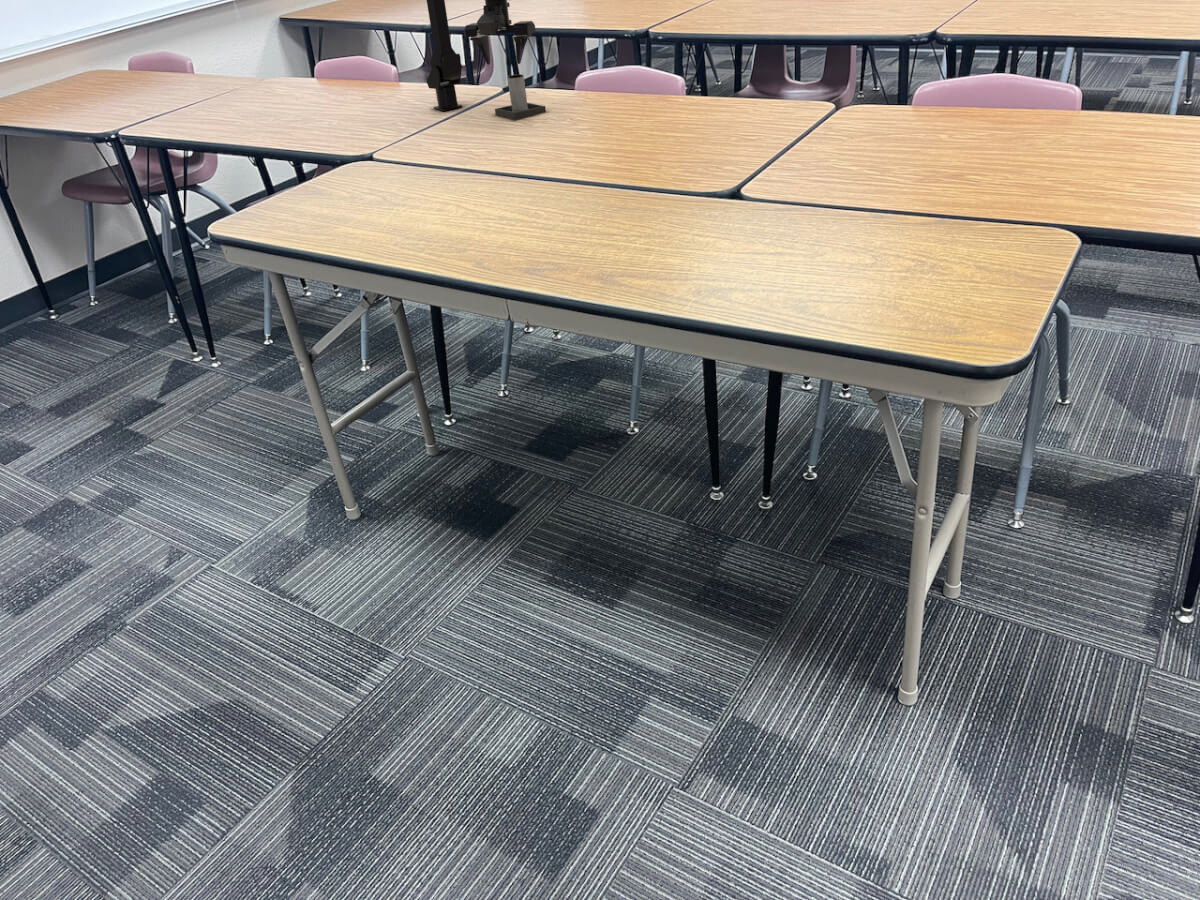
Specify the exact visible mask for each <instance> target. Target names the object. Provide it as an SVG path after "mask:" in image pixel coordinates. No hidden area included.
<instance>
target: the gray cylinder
mask: <svg viewBox="0 0 1200 900" xmlns="http://www.w3.org/2000/svg"><path fill="white" fill-rule="evenodd" d="M525 82H526V81H525V75H524V74H522V73H521V74H520V73H518V74H511V75H508V76H507V84H508V91H509V99H510V105H511V106H512V112H519V111H524V110H528V105H527V103H528V98H527V91H526V83H525Z"/></svg>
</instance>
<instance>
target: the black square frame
mask: <svg viewBox="0 0 1200 900" xmlns="http://www.w3.org/2000/svg"><path fill="white" fill-rule="evenodd" d="M527 105H528V110H524V111H519V112H512V106H511V104H510V105H507V106H501V107H496V108H494V114H495V116H497V117H500V118H504V119H507V120H510V121H520V120H523V119H527V118H530V117H534V116H537V115H540V114H545V113H546V110H547V109H546V105H542V104H536V103H532V102H527Z"/></svg>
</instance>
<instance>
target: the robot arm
mask: <svg viewBox="0 0 1200 900" xmlns="http://www.w3.org/2000/svg"><path fill="white" fill-rule="evenodd" d="M426 5H427V11H428V18H429V24H430V31H431V38H432V42H433V51H432V55H431V58H430V69H431V70H430V72H429V74H428V76H427V79H426V85H427V87H428V88H429V89H434V90H435V96H436V100H437V102H436V103H437V105H436V106H433V109H434V110H439V111H443V112H445V111H450V110H454V109H459V108H463V104H458V98H457V92H456V85H460V84H461V82H462V81H461V79H462V69H463V66H462V59H461V54H460V53H456V51H455V50H454V49H453V47H452V41H451V34H450V33H451V32H450V28H449V21H448V15H447V14H448V13H447V7H446V0H426ZM509 8H511V7H510V2H508V0H484V5H483V8H482V9H483V14H481V15H480V17H479V18H478V19H477V21H476V22H472V23H469V24H466V25H465V26H464V29H463V32H464V38H469V40H470V41H471V42H473V43H475V44H476V46H477V47H478V48H479V51H480V52H481V55H482V57H483V59H484V61H485V63H486V65H487V66H489V65H491V51H490V40H489V39H490V38H489V35H490V36H493V35H497V34H508V33H509V34H511V33H513V34H514V35H515V36H513V37H512V38H513V41H514V43H515V53H516V54H515V57H516V63H517V65H520V64H521V63H522V59H523V55H524V51H525V48H526V44H527V42H528V39H529V37H532V34H535V33H536V32H537V31H536V25H535V22H533V20H520V21H517V22H514V23H513V24H512V19H510V16H509Z"/></svg>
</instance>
